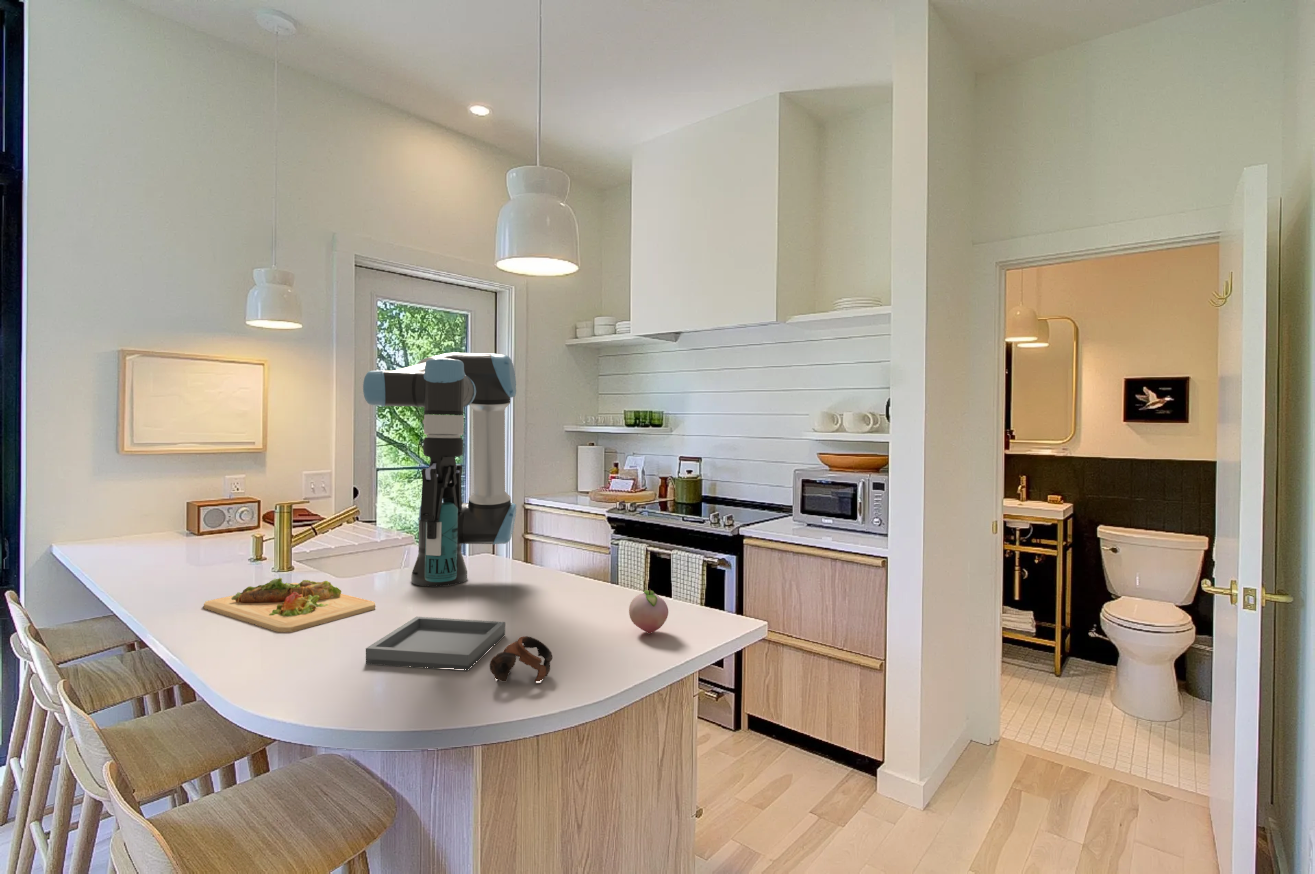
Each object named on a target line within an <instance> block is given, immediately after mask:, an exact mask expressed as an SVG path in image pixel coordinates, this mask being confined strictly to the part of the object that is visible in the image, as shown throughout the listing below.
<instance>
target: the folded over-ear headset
mask: <svg viewBox="0 0 1315 874" xmlns="http://www.w3.org/2000/svg"><path fill="white" fill-rule="evenodd" d="M534 648H535V649H536V650H537V656H536V655H534V654H533V653H531V652H530V651H529V650H528V649H534ZM517 657H518V661H519V662H521V663H523V664H524V665H526V666H530V667H531V668H532V669H534V670H535V671H537V675H536V678H535V679H534V682H535V681H540V680H542V679H544V680H545V678H546V677H547V676H548V675H549V673H550V670H551V661H552V660H553V654H552V651H551V650H550V648H549V647H548V646H547V645H546V644H544V643H543V642H542V641H540V640H538V639H537V638H535V637H533V636H528V635H526V636H525V635H524V636H519V638H518V639H517V641H513V642H511V643H510V644H508V645H507V646H506V647H505V648H504V649H503V651H501V652H499V653H496V655H494V656H493V657H492V658H491V660H490V662H489V670H490V672H491V674H492V675H493V677H494V676H495V678H496V679H498V681H500V682H504V683H505V682H508V677H509V675H510V672H511V671H512V669H513V668H514V666H515V664H516V662H517ZM541 657H542V658H543V659H544V660H543V662H542V658H541ZM495 678H494V679H495Z"/></svg>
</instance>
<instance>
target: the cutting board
mask: <svg viewBox="0 0 1315 874" xmlns="http://www.w3.org/2000/svg"><path fill="white" fill-rule="evenodd" d="M203 609H205V610H207V609H208V611H210V610H211V612H213V611H215V612H214V613H217V614H220V615H223V616H227V617H229V618H232V619H236V620H239V621H242V622H245V623H248V622H249V623H248V624H251V625H254V624H256V626H258V627H261V626H262V627H261V628H265V629H267V630H270V629H271V631H274V632H276V633H293V632H298V631H301V630H305V629H309V628H312V627H316V626H319V624H320V625H323V624H326V622H327V623H330V622H333V621H337V620H342V619H344V618H348V617H352V616H357V615H359V614H364V613H367V612H370V611H371V612H372V611H375V610H376V602H375V601H372V600H368V599H364V598H360V597H357V596H353V595H350V594H344V593H342V589H340V588H339V587H337V586H334V585H333V584H332V583H331V582H330V581H328V580H324V581H321V582H320V581H313V580H308V579H302V581H300V582H285V583H284V582H283V577H279V578H273V579H272V580H269V582H267V583H265V584H259V585H258V586H247V587H246V588H245V589H243V590H242V592H239V591H238V592H237V593H235V594H233V595H228V596H225V597H219V598H215V599H210V600H206V601H205V602H204V603H203Z"/></svg>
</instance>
